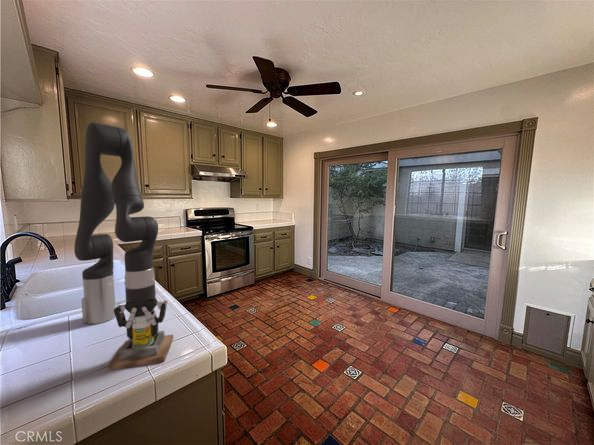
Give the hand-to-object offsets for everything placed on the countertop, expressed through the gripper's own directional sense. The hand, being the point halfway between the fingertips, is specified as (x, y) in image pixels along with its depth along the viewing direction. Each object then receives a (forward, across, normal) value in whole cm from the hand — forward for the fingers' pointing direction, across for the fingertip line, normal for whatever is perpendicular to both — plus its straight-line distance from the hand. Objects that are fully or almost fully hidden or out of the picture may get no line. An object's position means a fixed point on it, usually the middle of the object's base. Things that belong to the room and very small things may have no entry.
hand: (143, 336), depth 75 cm
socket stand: (+5, 0, 0) cm, 5 cm away
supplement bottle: (+3, 0, 0) cm, 3 cm away
